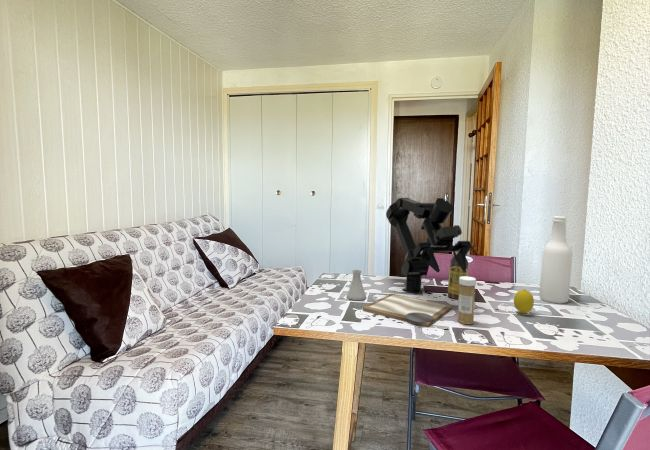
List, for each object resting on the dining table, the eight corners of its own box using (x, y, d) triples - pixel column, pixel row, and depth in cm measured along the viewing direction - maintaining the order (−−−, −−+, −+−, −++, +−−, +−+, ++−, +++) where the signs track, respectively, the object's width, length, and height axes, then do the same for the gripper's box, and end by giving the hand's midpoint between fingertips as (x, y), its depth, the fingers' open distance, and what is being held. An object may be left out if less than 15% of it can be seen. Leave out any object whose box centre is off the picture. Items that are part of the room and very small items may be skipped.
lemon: (530, 311, 115) (532, 287, 114) (534, 317, 110) (536, 292, 109) (511, 309, 117) (513, 286, 116) (514, 315, 112) (516, 290, 111)
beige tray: (391, 296, 131) (392, 292, 131) (452, 309, 117) (452, 305, 117) (361, 311, 114) (361, 307, 114) (426, 328, 101) (427, 324, 101)
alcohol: (568, 299, 129) (575, 216, 125) (567, 305, 121) (574, 218, 118) (540, 294, 134) (546, 215, 131) (538, 300, 127) (544, 216, 124)
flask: (366, 295, 132) (366, 268, 131) (366, 301, 125) (367, 273, 124) (346, 294, 132) (347, 268, 131) (345, 300, 125) (346, 272, 124)
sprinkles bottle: (476, 322, 106) (478, 277, 104) (469, 326, 103) (471, 280, 101) (461, 318, 109) (463, 275, 108) (454, 321, 106) (456, 277, 104)
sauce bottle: (446, 298, 128) (449, 244, 126) (447, 293, 134) (450, 241, 132) (466, 300, 126) (469, 245, 124) (466, 296, 132) (469, 242, 130)
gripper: (418, 217, 114) (435, 257, 104) (470, 216, 118) (491, 255, 108) (406, 238, 122) (421, 277, 113) (455, 236, 126) (473, 274, 117)
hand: (451, 271), depth 112 cm, fingers open, 9 cm apart
